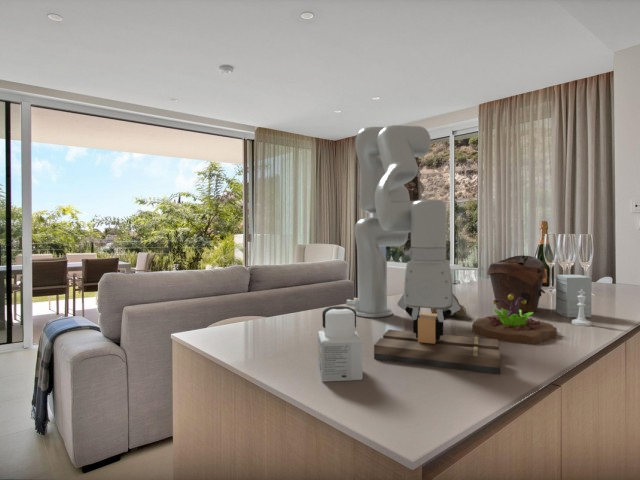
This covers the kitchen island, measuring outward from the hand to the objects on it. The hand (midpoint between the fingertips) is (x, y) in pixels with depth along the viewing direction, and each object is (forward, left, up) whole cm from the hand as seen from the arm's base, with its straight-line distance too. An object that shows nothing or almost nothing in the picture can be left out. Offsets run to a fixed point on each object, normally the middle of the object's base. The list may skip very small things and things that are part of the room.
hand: (428, 336), depth 88 cm
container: (-15, -18, -4) cm, 24 cm away
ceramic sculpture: (0, +43, -4) cm, 43 cm away
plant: (+18, +27, -5) cm, 33 cm away
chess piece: (+37, +44, -4) cm, 58 cm away
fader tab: (0, 0, -3) cm, 3 cm away
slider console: (+2, 0, -4) cm, 4 cm away
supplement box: (+37, +56, -4) cm, 68 cm away
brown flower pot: (+21, +60, -4) cm, 64 cm away
